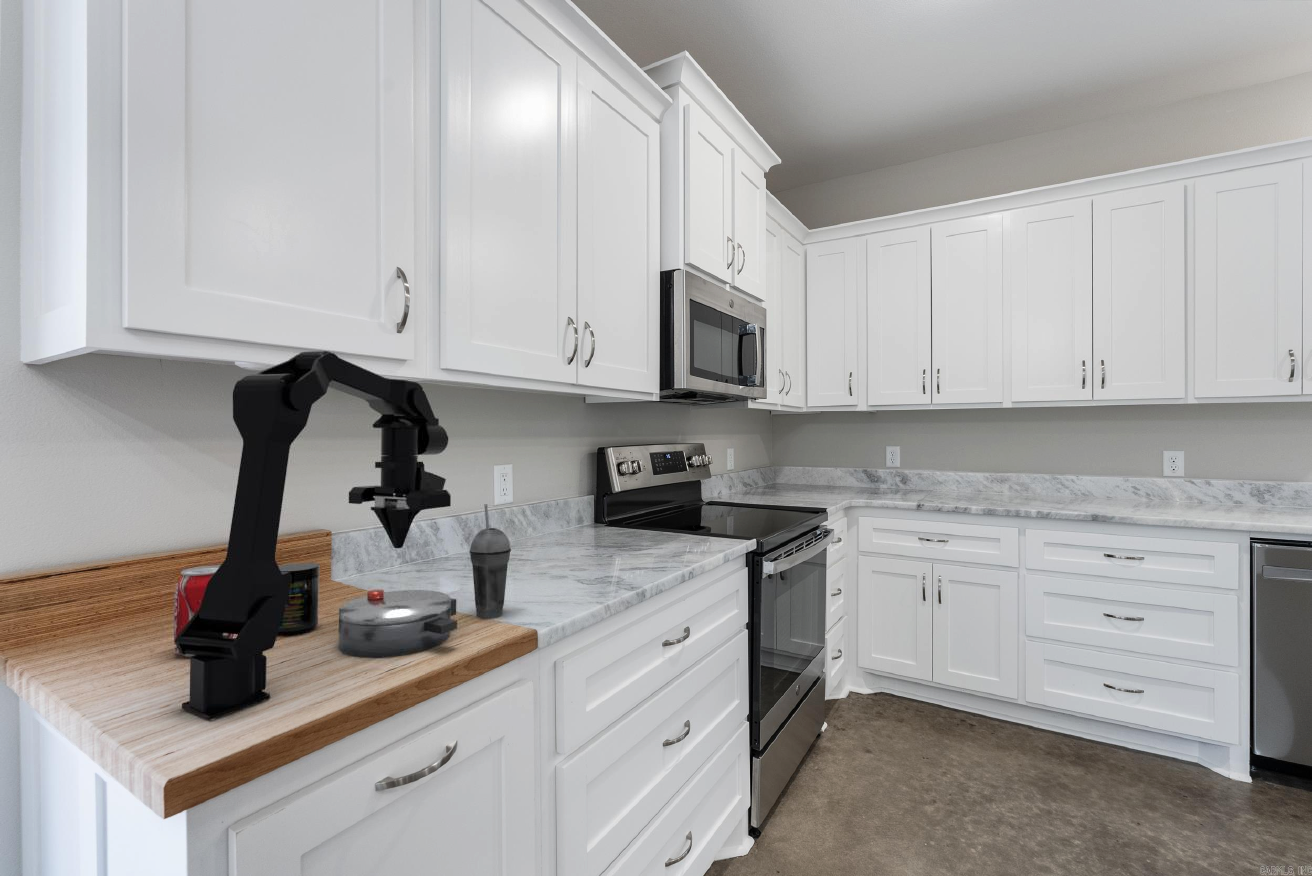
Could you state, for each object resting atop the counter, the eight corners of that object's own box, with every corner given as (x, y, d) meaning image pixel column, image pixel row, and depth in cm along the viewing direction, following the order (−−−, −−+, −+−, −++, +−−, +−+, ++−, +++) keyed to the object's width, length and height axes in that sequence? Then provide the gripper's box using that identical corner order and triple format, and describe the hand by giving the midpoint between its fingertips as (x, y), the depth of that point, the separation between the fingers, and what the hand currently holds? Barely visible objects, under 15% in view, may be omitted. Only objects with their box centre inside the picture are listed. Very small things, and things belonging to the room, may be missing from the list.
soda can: (201, 661, 82) (202, 575, 82) (160, 657, 83) (161, 573, 84) (246, 644, 89) (247, 565, 89) (207, 641, 90) (208, 563, 90)
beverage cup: (519, 613, 107) (520, 503, 107) (487, 623, 101) (489, 506, 101) (491, 606, 111) (492, 500, 111) (459, 616, 104) (461, 503, 105)
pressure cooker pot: (403, 669, 80) (404, 636, 80) (301, 642, 90) (301, 612, 90) (495, 632, 96) (496, 604, 96) (399, 612, 106) (400, 587, 106)
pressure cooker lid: (387, 631, 81) (387, 615, 81) (315, 615, 89) (315, 600, 89) (472, 603, 96) (472, 590, 96) (404, 591, 103) (404, 578, 103)
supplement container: (322, 631, 96) (323, 567, 96) (273, 640, 91) (274, 573, 91) (314, 621, 101) (315, 560, 101) (267, 629, 96) (268, 565, 96)
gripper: (475, 456, 102) (474, 545, 102) (401, 454, 111) (400, 536, 111) (423, 457, 93) (422, 556, 92) (347, 455, 101) (345, 545, 101)
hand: (398, 547), depth 99 cm, fingers closed
